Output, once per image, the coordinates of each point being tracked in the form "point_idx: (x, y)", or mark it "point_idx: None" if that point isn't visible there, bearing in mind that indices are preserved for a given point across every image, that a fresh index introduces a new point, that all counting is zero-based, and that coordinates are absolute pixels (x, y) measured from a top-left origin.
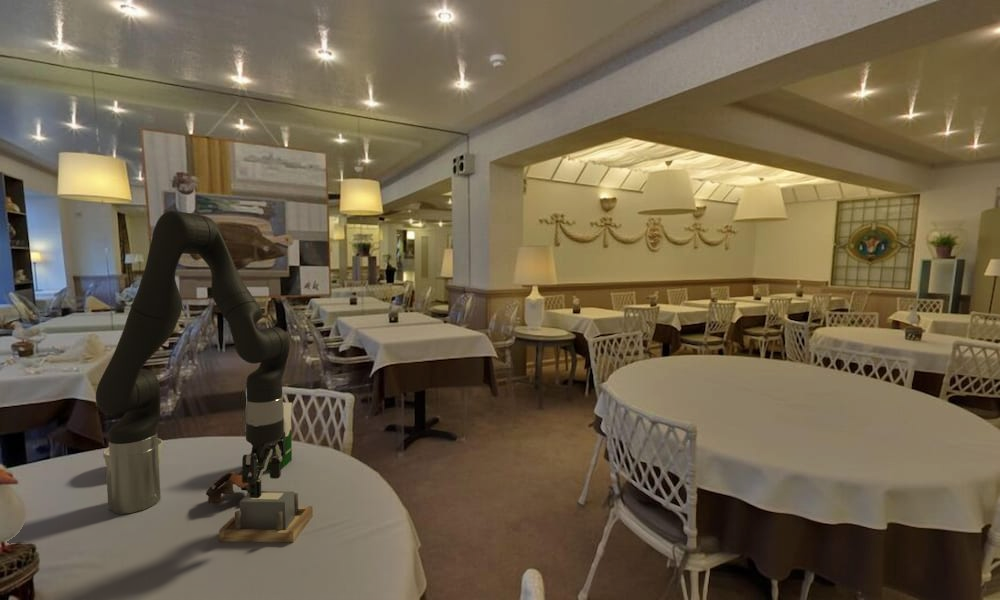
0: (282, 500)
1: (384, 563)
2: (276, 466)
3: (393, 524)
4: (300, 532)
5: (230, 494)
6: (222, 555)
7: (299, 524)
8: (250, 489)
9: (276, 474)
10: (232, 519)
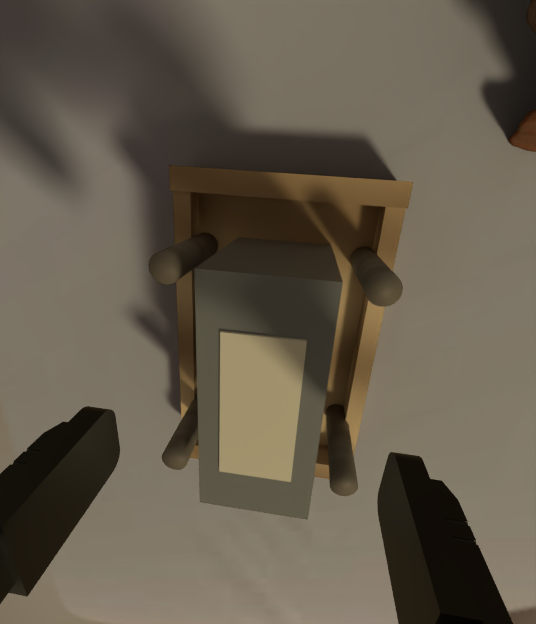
0: (214, 489)
1: (133, 601)
2: (405, 614)
3: (277, 621)
4: None
5: (528, 19)
6: (110, 230)
7: None
8: (6, 476)
9: (387, 520)
10: (263, 183)
